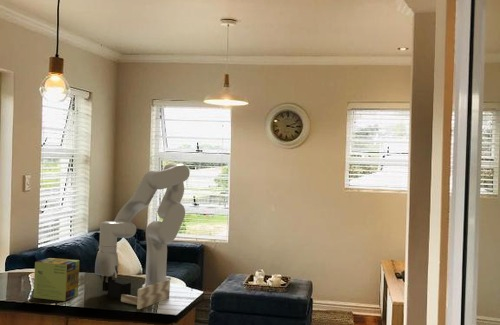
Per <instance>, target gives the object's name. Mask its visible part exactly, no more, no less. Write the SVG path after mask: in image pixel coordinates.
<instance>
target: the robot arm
mask: <svg viewBox="0 0 500 325" xmlns="http://www.w3.org/2000/svg"><path fill="white" fill-rule="evenodd" d="M190 172H191V171H190V169H189V167H188V166H187V165H186V164H183V163H168V164H166V165H165V166H164V167H163V169H162V170H148V171H147V172H145V173H144V175H143V176H142V178H141V180H140V182H139V184H138V186H137V187H136V189H135V191H134V193H133V194H132V197H130V198H129V199H128V201H126V203H125V204H124V205H122V207H121V208H120V210H119V211H118V213H117V214H116V215H115V216H116V217H115V218H114V220H113V221H112V220H111V221H109V220H108V221H107V220H105V221H102V222H101V223H100V226H99V244H98V246H97V248H98V250H99V251H97V254H96V258H95V263H94V264H95V265H94V274H96V276H98V277H99V278H100V280H101V282H102V292H108V281H109V280H113V279H118V274H119V256H118V254H119V253H118V252H117V249H118V247H117V246H118V238H119V239H120V238H122V239H129V238H132V237H134V236H135V235H136V232H137V227H136V225H135V224H134V223H133V222H131V221H132V220H133V218H134V217H135V216H136V215H137V213H139V212H141V211H142V210H145V209H146V208H147V207H148V206H150V204H151V201H152V200H153V198H154V196H155V194H156V192H157V191H158V190H164V189H166V190H165V193H164V195H163V197H162V199H161V202H160V204H159V206H158V208H157V216H158V217H159V218H160V219H162V221H160V220H154V221H152V222H149V224H148V225H147V226H146V229H145V240H146V259H145V260H146V261H145V283H144V284H142V286H141V288H143V287H146V286H149V285H152V284H155V283H158V282H161V281H164V280H167V279H169V280H170V281H171V279H172V278H171V276H167V261H168V260H167V259H168V246H167V245H169V244H171V243H173V242H174V240H175V239H176V237H177V235H178V233H179V231H180V229H181V226H182V224H183V222H184V219H185V216H186V208H185V207H184V205H183V204H182V203H181V202H182V199H183V197H184V194H185V185H184V182H186V181H187V180H188V179H189V178H190Z"/></svg>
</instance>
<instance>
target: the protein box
mask: <svg viewBox="0 0 500 325" xmlns="http://www.w3.org/2000/svg"><path fill="white" fill-rule="evenodd" d="M33 279H34V280H33V281H34V282H33V296H32V297H33V299H42V300H43V299H44V300H51V301H52V300H53V301H60V302H61V301H62V302H66V301H68V300H71V299H72V298H76V297H77V296H79V280H80V260H79V259H67V258H54V257H53V258H52V257H48V258H44V259H40V260H36V261H35V262H34V278H33Z"/></svg>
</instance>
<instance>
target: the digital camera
mask: <svg viewBox="0 0 500 325" xmlns="http://www.w3.org/2000/svg"><path fill="white" fill-rule="evenodd" d="M131 288H132V283H131V282H129V281H126V280H125V281H124V280H123V279H118V278H115V279H112V280H109V281H108V291H107V297H111V298H114V299H117V300H120V301H121V295H122V294H125V295H131V293H132V292H131V290H132V289H131ZM131 296H132V295H131Z"/></svg>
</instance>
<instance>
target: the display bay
mask: <svg viewBox="0 0 500 325" xmlns="http://www.w3.org/2000/svg"><path fill="white" fill-rule="evenodd" d="M170 289H171V280H169V279H167V280H164V281H161V282H158V283H155V284H152V285H149V286H146V287H143V288H142V287H140V288H137V296H135V295H125V294H122V295H121V300H120V302H121V303H126V304H129V305H136V309H137V310H141V309H144V308H146V307H149V306H152V305H154V304H157V303H159V302H162V301H164V300H167V299H170V292H171V290H170Z"/></svg>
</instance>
